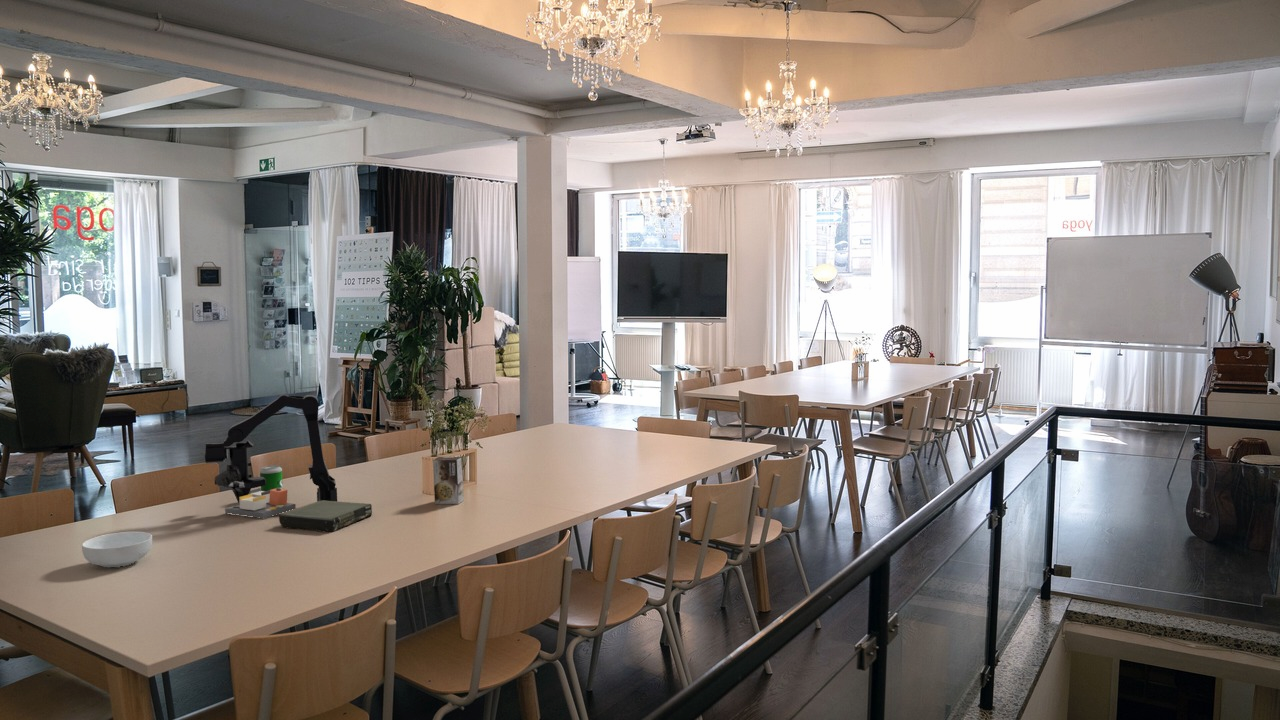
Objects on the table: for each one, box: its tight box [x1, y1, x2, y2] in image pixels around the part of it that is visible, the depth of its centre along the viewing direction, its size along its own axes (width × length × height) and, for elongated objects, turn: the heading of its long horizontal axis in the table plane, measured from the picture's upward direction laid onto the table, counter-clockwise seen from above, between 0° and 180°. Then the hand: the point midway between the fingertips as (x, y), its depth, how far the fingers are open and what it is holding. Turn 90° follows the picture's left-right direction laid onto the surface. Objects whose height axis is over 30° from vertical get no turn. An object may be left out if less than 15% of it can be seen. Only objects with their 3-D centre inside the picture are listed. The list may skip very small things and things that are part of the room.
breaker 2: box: [248, 487, 270, 503], centre depth 308 cm, size 7×5×4 cm
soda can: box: [259, 465, 284, 491], centre depth 322 cm, size 8×8×12 cm
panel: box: [224, 502, 296, 519], centre depth 303 cm, size 18×14×2 cm
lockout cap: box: [269, 488, 288, 506], centre depth 304 cm, size 4×4×6 cm
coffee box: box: [432, 456, 464, 505], centre depth 313 cm, size 9×6×16 cm
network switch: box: [278, 500, 373, 533], centre depth 287 cm, size 23×23×5 cm
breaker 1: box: [238, 494, 266, 510], centre depth 298 cm, size 7×5×4 cm
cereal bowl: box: [81, 531, 153, 568], centre depth 244 cm, size 17×17×7 cm
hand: (241, 505), depth 301 cm, fingers closed
